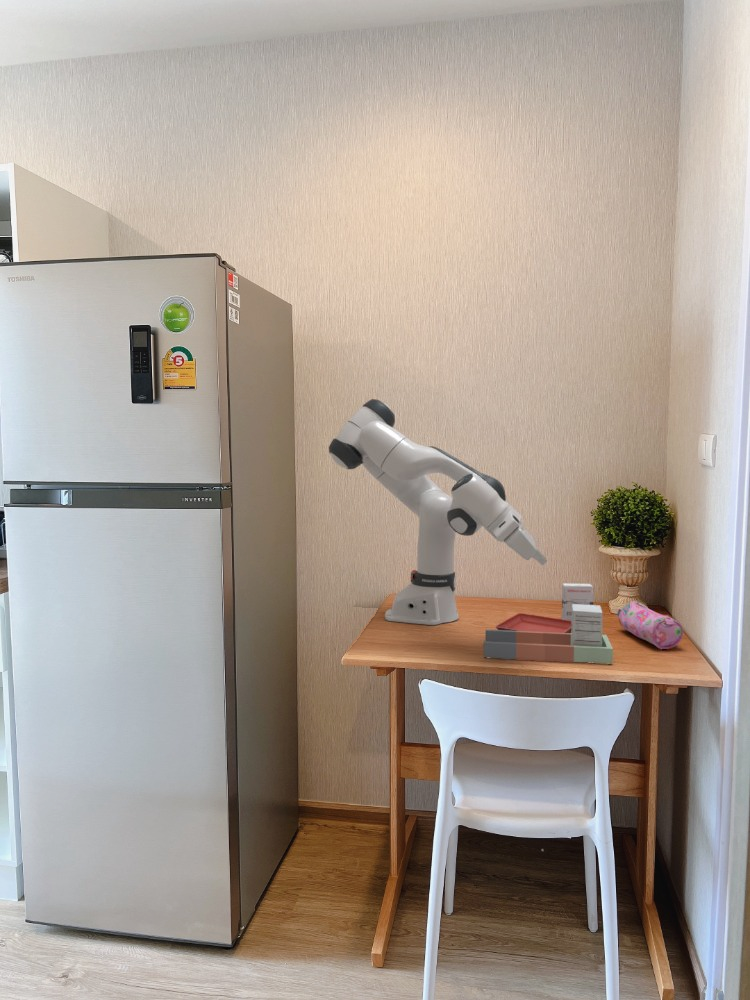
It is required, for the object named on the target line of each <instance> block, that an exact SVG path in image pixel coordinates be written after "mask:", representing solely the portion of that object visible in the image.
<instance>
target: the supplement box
mask: <svg viewBox="0 0 750 1000" xmlns="http://www.w3.org/2000/svg"><path fill="white" fill-rule="evenodd" d="M603 613H604V612H603V610H602V606H601V605H600V604H599V605H598V604H593V605H581V604H572V618H571V632H570V633H571V645H573V646H594V647H602V635H603V618H604V617H603V616H604V614H603Z"/></svg>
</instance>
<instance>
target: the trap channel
mask: <svg viewBox="0 0 750 1000" xmlns="http://www.w3.org/2000/svg"><path fill="white" fill-rule="evenodd" d="M607 635H608V634H602V647H594V646H573V645H571V632H570V633H555V632H532V631H510V630H498V629H485V638H484V639H485V641H483V658H484V657H490V658H489V659H491V658H503V659H502V660H511V659H518V660H517V661H530V660H534V661H533V662H535V661H537V662H550V661H557V662H556V663H559V662H558V661H561V662H560V663H569V662H591V663H592V662H593V663H612V664H613V658H614V657H613V655H614V653H613V652H614V650H613V649H614V648H613V647H612V644H611V642H610V639H609V638H608V636H607Z"/></svg>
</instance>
